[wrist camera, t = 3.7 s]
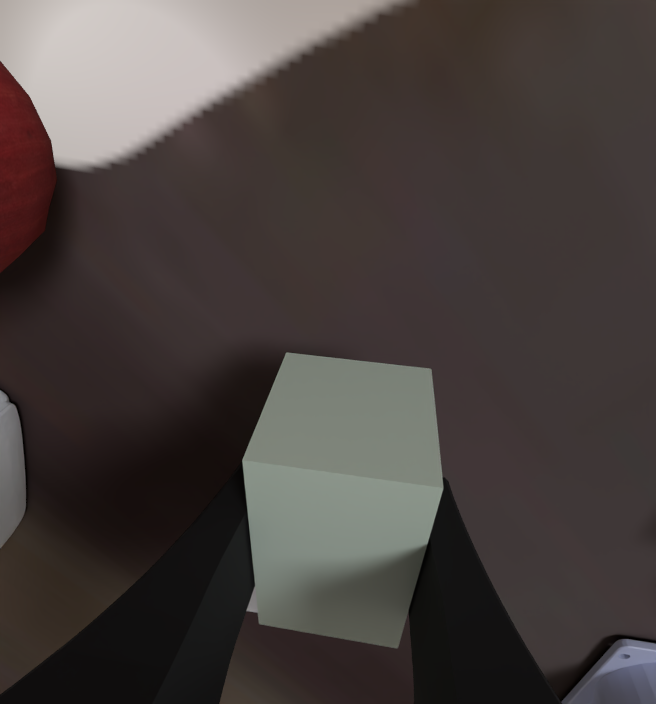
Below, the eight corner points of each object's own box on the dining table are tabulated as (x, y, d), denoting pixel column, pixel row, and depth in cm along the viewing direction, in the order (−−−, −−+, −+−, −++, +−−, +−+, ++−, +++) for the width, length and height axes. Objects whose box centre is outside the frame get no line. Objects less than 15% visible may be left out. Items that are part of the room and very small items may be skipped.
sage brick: (398, 524, 13) (397, 648, 11) (289, 507, 14) (259, 623, 11) (431, 368, 10) (443, 488, 7) (286, 352, 10) (241, 460, 8)
